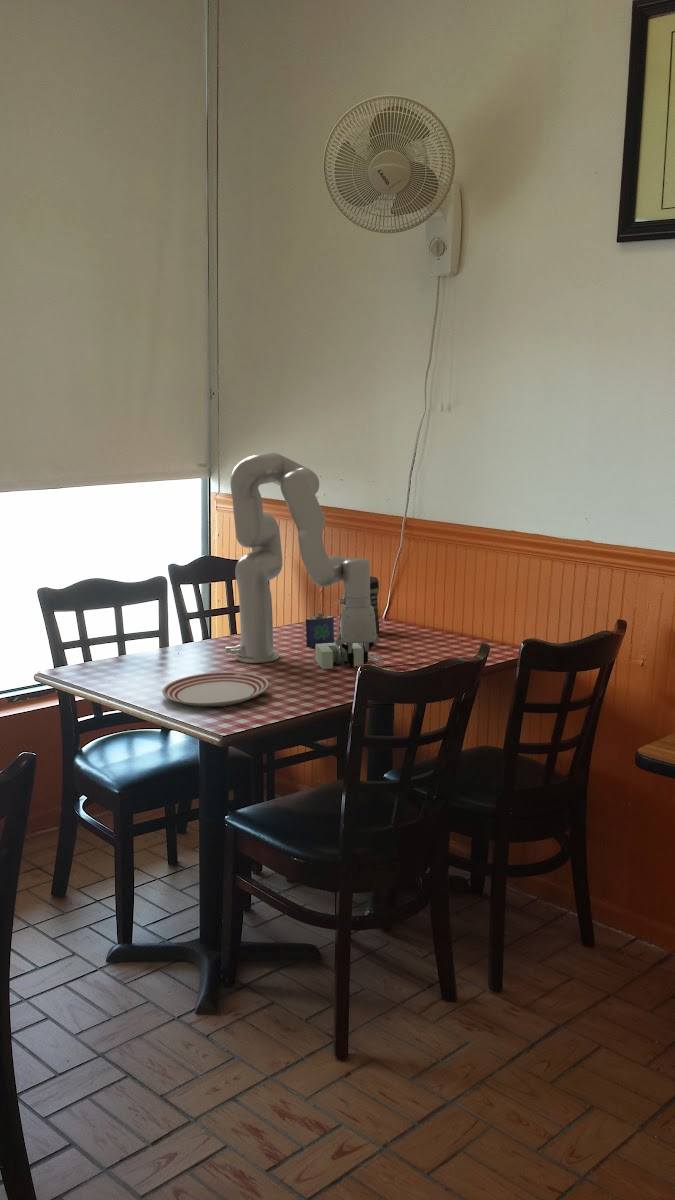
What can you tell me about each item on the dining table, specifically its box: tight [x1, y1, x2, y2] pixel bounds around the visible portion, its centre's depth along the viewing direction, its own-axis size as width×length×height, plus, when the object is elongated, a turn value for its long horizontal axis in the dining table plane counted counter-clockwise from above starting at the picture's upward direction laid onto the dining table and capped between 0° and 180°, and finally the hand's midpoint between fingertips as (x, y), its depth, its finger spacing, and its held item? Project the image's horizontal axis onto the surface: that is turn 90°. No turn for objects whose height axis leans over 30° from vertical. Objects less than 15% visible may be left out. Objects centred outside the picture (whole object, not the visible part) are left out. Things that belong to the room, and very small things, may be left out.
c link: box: [315, 643, 364, 670], centre depth 307 cm, size 10×12×5 cm
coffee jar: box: [370, 575, 380, 634], centre depth 343 cm, size 10×8×19 cm
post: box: [335, 640, 345, 665], centre depth 307 cm, size 2×2×6 cm
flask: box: [305, 611, 335, 648], centre depth 329 cm, size 9×3×11 cm, turn 114°
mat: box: [368, 651, 423, 668], centre depth 311 cm, size 13×14×1 cm
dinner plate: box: [161, 671, 270, 707], centre depth 277 cm, size 27×27×3 cm
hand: (357, 664), depth 305 cm, fingers closed on c link, 3 cm apart
